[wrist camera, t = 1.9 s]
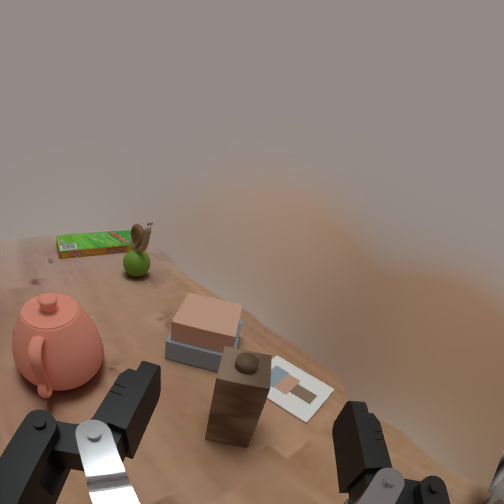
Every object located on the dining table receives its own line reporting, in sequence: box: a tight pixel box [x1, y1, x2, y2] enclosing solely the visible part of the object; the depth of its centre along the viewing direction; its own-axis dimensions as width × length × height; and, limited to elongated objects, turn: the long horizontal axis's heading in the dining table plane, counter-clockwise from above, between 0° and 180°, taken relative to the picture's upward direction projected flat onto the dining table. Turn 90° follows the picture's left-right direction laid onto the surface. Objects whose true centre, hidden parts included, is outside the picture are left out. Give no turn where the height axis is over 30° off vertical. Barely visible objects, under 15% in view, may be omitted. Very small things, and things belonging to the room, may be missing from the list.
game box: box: [56, 230, 133, 259], centre depth 63 cm, size 3×10×20 cm
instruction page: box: [267, 356, 334, 423], centre depth 36 cm, size 10×8×1 cm
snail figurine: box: [123, 222, 153, 277], centre depth 53 cm, size 5×6×12 cm
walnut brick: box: [205, 346, 272, 447], centre depth 26 cm, size 4×4×11 cm
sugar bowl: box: [12, 293, 104, 398], centre depth 26 cm, size 12×14×10 cm
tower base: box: [165, 292, 242, 372], centre depth 39 cm, size 9×9×6 cm
